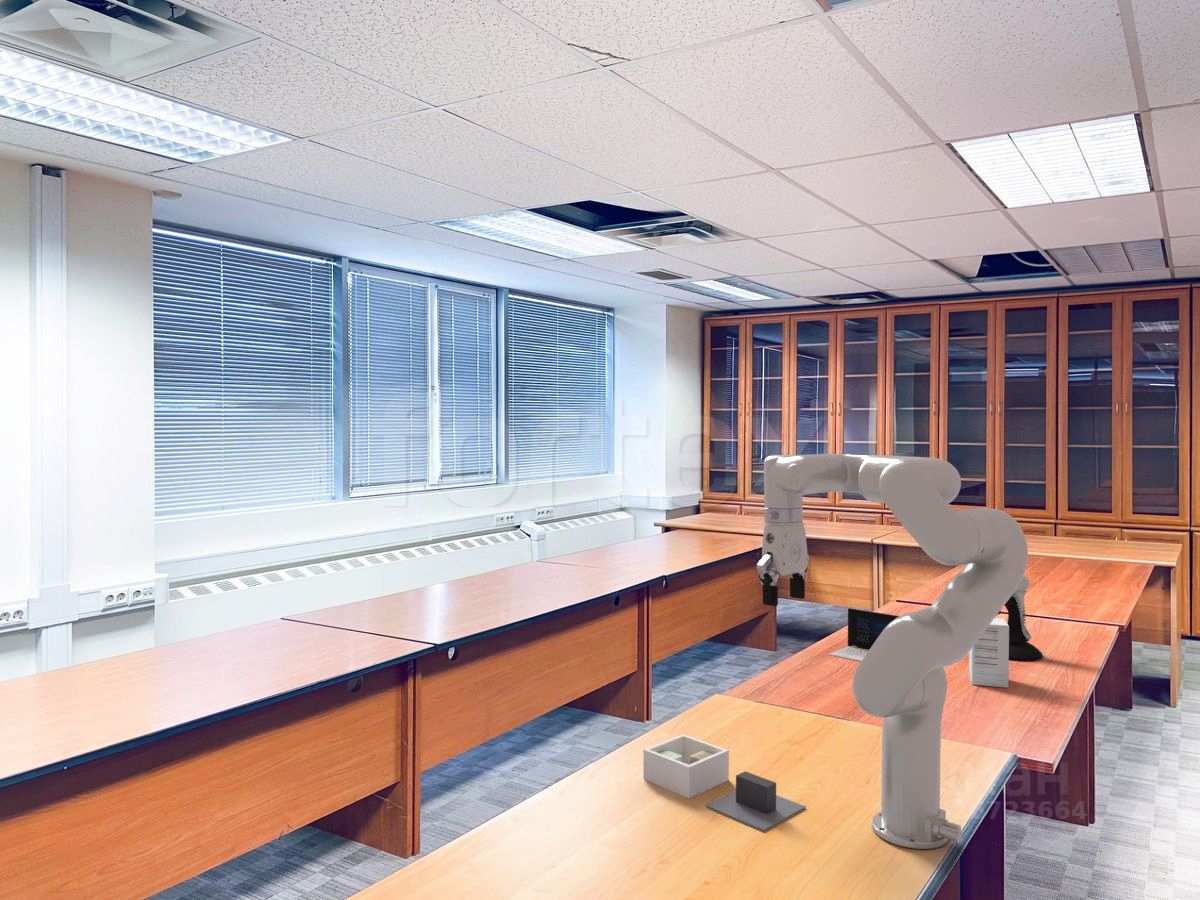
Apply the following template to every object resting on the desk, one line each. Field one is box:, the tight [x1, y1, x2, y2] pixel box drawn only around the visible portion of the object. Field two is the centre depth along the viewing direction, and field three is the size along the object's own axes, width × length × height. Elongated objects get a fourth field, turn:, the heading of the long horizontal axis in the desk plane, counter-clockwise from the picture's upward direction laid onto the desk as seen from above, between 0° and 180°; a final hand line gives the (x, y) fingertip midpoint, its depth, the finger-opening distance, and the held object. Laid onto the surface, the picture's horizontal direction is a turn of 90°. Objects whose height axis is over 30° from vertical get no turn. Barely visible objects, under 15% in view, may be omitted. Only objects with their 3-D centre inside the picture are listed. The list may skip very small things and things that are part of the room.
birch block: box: [690, 751, 713, 764], centre depth 169 cm, size 4×4×4 cm
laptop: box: [828, 607, 900, 662], centre depth 257 cm, size 18×12×13 cm
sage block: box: [659, 750, 683, 762], centre depth 169 cm, size 4×4×4 cm
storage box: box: [643, 733, 730, 799], centre depth 169 cm, size 12×12×6 cm
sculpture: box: [996, 574, 1043, 662], centre depth 261 cm, size 15×24×25 cm, turn 49°
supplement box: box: [968, 617, 1010, 689], centre depth 231 cm, size 10×9×17 cm
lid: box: [705, 770, 807, 833], centre depth 156 cm, size 13×13×6 cm
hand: (784, 601), depth 170 cm, fingers open, 9 cm apart
